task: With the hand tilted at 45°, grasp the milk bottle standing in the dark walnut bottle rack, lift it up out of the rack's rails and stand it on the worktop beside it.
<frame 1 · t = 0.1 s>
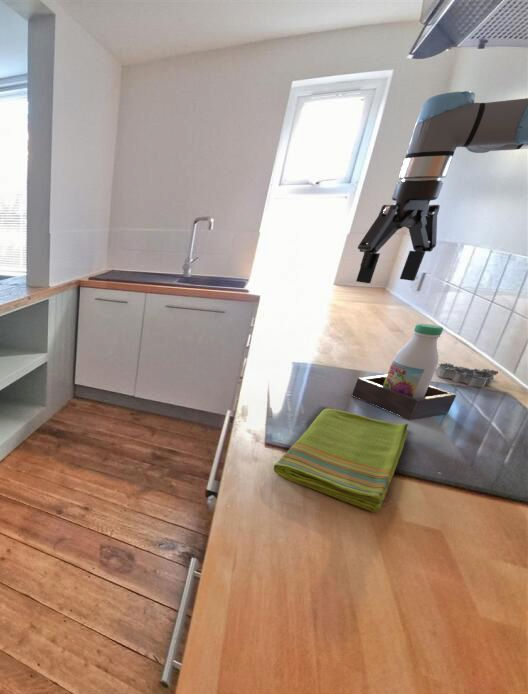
hand: (385, 281, 97), 29 cm above the countertop, tool pointing down, fingers open, 13 cm apart
milk bottle: (397, 405, 101), resting in bottle rack
egg carton: (461, 380, 115), on the countertop
bottle rack: (397, 404, 101), on the countertop
dish towel: (343, 455, 81), on the countertop
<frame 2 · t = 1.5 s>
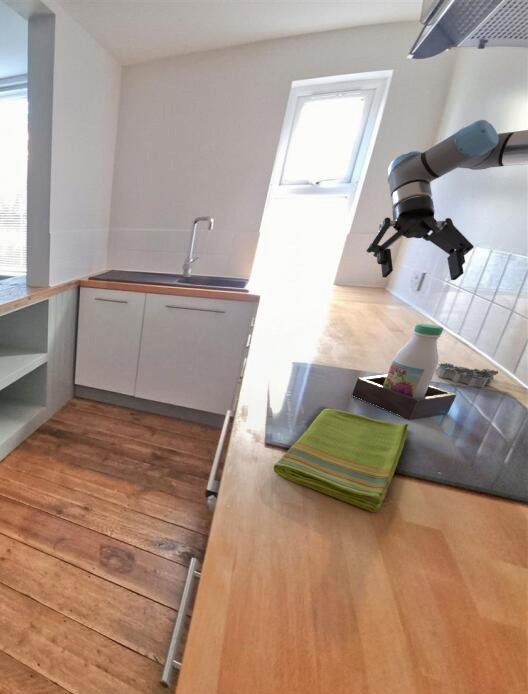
hand: (421, 275, 98), 30 cm above the countertop, tool tilted 45°, fingers open, 13 cm apart
nothing on the countertop moved.
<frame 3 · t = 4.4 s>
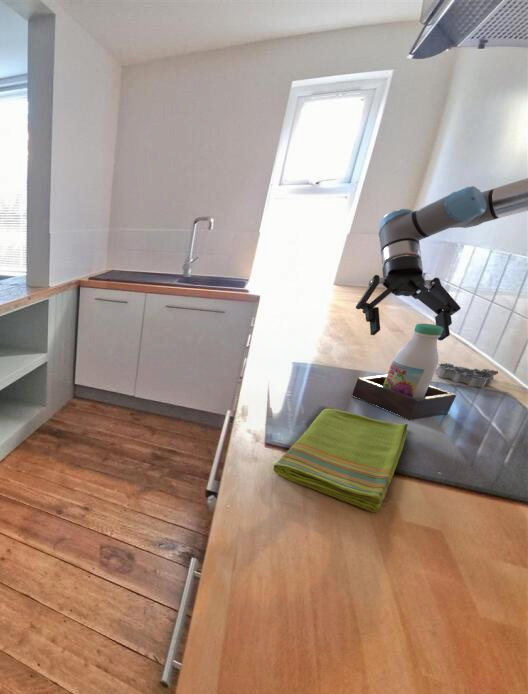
hand: (409, 335, 100), 16 cm above the countertop, tool tilted 45°, fingers open, 13 cm apart
nothing on the countertop moved.
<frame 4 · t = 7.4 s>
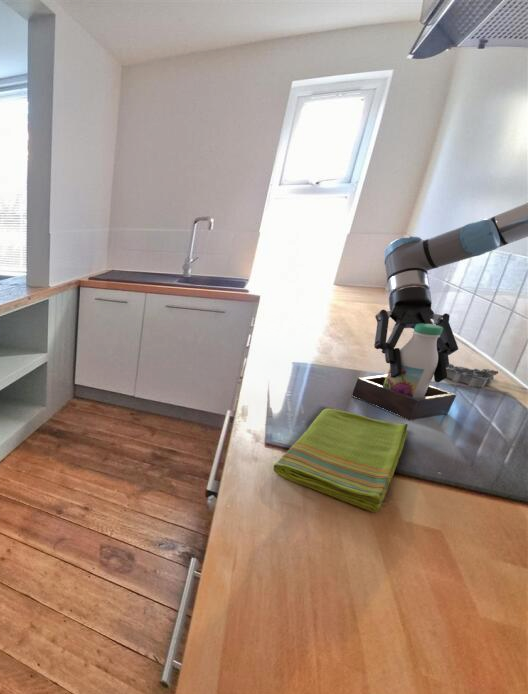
hand: (418, 377, 95), 9 cm above the countertop, tool tilted 45°, fingers closed on milk bottle, 8 cm apart
milk bottle: (397, 405, 101), resting in bottle rack, touching gripper
everything else where it was.
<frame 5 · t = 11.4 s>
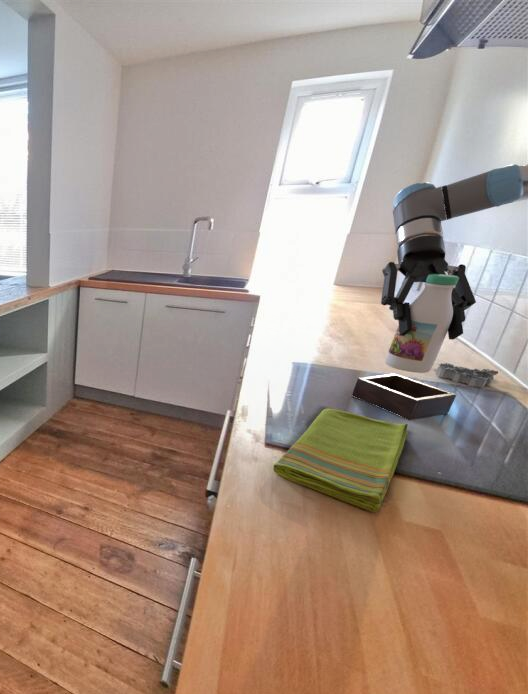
hand: (430, 334, 85), 21 cm above the countertop, tool tilted 45°, fingers closed on milk bottle, 8 cm apart
milk bottle: (406, 368, 91), point 12 cm above the countertop, touching gripper
everything else where it was.
when the fingers open (9 cm above the countertop, at t = 15.8 s): milk bottle stays where it is, on the countertop.
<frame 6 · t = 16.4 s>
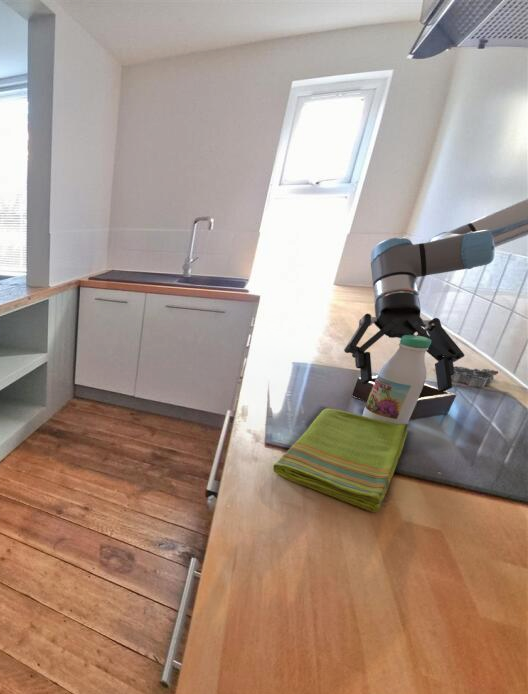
hand: (405, 385, 87), 10 cm above the countertop, tool tilted 45°, fingers open, 13 cm apart
milk bottle: (382, 423, 93), on the countertop
everything else where it was.
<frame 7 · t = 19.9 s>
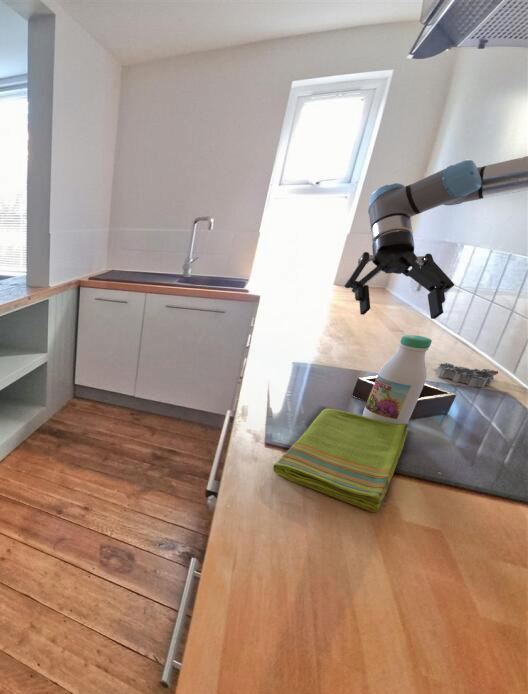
hand: (400, 313, 95), 22 cm above the countertop, tool tilted 45°, fingers open, 13 cm apart
nothing on the countertop moved.
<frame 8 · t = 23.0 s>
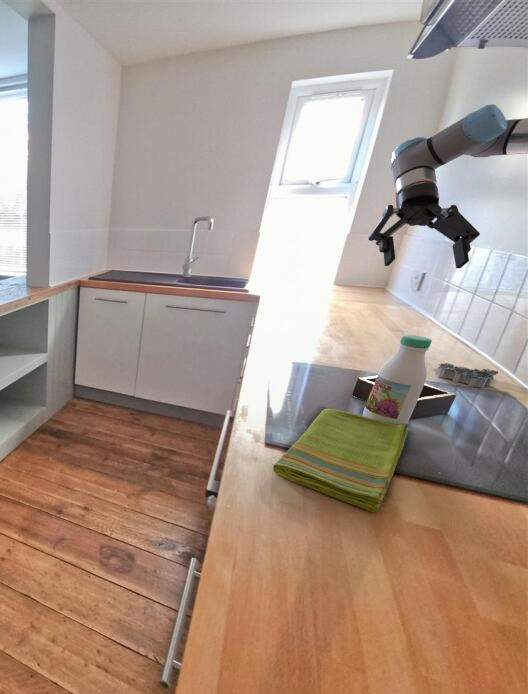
hand: (425, 263, 95), 33 cm above the countertop, tool tilted 45°, fingers open, 13 cm apart
nothing on the countertop moved.
at the end: milk bottle inside the target area (0.0 cm from its centre), on the countertop; milk bottle tilted 0°; milk bottle touching countertop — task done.
